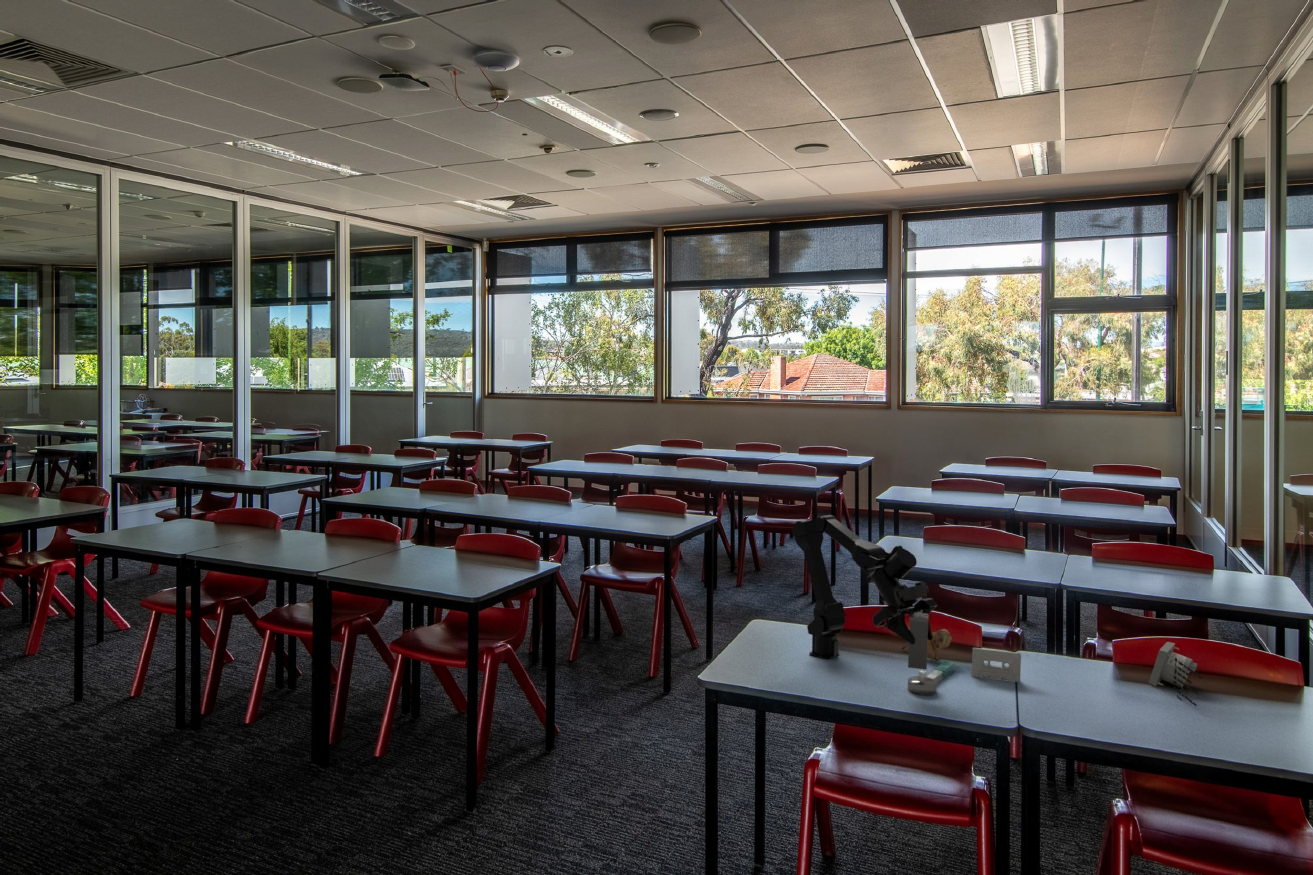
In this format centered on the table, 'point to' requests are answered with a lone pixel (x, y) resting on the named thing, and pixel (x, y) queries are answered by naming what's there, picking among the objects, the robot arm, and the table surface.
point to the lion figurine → (937, 642)
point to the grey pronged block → (1173, 669)
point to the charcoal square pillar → (918, 640)
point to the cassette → (996, 671)
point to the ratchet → (929, 680)
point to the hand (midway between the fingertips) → (922, 641)
